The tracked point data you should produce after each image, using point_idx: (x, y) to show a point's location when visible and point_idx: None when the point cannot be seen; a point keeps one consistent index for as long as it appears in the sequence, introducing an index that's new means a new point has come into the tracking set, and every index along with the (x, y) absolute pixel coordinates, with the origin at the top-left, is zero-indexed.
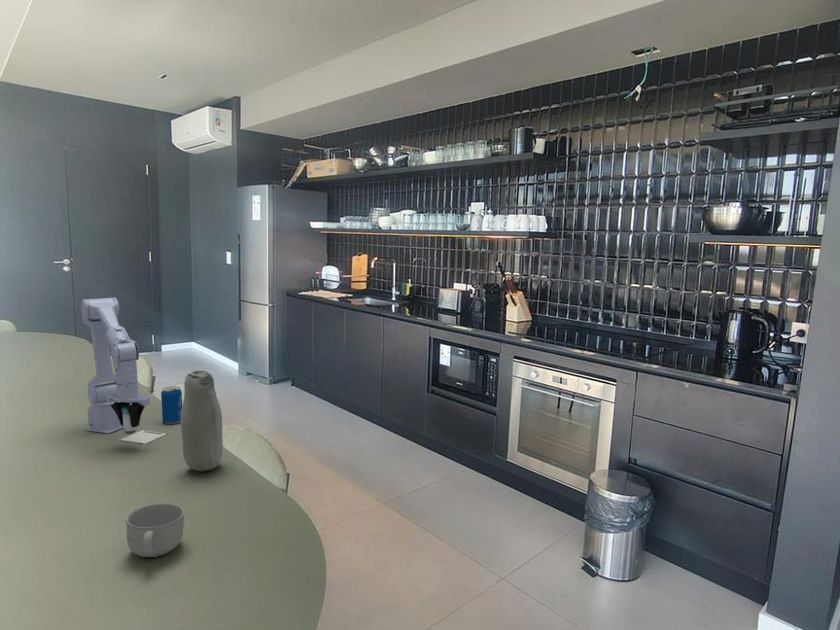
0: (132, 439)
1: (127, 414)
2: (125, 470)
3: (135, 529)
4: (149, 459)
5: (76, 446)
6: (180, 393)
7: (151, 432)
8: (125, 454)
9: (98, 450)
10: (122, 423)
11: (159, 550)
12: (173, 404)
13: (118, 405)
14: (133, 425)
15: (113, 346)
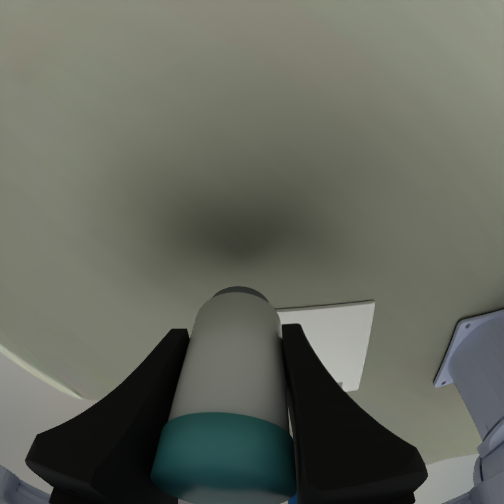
0: (321, 325)
1: (181, 411)
2: (43, 80)
3: None
4: (55, 201)
5: (492, 179)
6: None
7: None
8: (193, 188)
9: (378, 172)
10: (282, 338)
11: None
12: (295, 500)
13: (309, 500)
14: (163, 339)
15: None
